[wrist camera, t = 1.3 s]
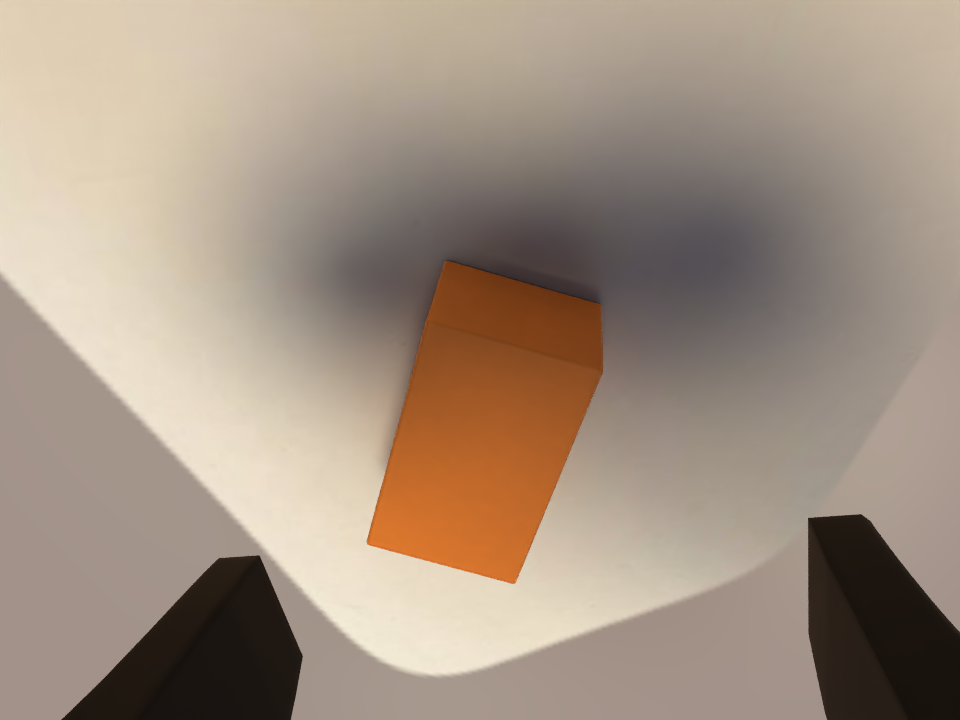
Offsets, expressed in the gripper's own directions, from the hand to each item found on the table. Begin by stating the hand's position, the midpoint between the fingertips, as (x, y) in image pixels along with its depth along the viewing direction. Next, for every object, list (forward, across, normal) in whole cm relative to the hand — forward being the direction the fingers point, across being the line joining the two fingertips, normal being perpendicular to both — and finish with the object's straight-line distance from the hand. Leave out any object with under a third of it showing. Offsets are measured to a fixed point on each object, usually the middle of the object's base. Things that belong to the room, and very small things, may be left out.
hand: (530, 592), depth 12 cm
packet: (+11, +2, +4) cm, 12 cm away
